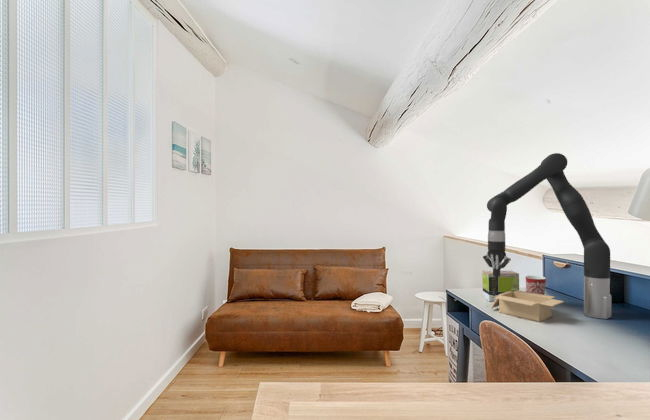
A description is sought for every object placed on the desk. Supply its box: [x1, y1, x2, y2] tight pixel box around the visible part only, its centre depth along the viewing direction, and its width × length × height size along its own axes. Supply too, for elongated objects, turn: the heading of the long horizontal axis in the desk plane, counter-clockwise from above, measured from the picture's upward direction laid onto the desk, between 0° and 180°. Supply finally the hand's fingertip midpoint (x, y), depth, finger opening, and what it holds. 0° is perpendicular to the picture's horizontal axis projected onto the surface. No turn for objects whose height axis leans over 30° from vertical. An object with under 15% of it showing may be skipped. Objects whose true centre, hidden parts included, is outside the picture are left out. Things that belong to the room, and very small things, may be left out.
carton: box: [495, 289, 565, 323], centre depth 164 cm, size 22×22×8 cm
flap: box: [490, 291, 511, 309], centre depth 175 cm, size 1×11×8 cm, turn 128°
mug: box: [525, 275, 547, 295], centre depth 185 cm, size 13×9×14 cm
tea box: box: [482, 269, 520, 303], centre depth 192 cm, size 15×10×15 cm, turn 84°
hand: (496, 276), depth 176 cm, fingers closed
